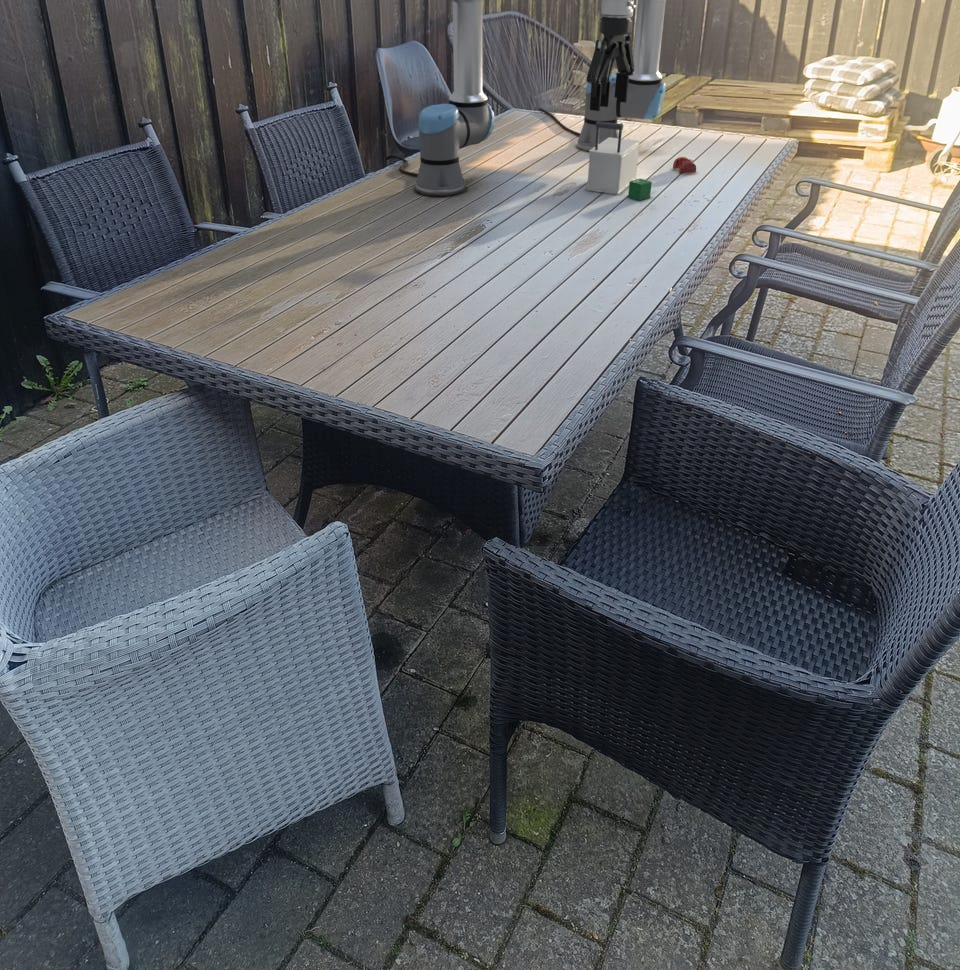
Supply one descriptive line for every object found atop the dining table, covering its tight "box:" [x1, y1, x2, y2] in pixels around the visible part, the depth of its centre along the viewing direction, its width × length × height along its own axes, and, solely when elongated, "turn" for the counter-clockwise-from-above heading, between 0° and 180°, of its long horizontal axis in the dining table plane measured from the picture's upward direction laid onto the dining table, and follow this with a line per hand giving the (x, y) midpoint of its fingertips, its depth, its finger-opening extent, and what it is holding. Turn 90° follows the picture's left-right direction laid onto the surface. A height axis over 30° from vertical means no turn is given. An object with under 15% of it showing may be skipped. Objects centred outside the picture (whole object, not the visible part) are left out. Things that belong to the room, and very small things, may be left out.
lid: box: [588, 121, 641, 158], centre depth 253 cm, size 18×10×9 cm, turn 154°
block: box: [627, 178, 653, 201], centre depth 251 cm, size 5×5×5 cm
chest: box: [586, 144, 640, 195], centre depth 259 cm, size 17×10×11 cm, turn 154°
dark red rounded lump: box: [672, 156, 697, 174], centre depth 274 cm, size 6×4×8 cm
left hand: (608, 106), depth 226 cm, fingers open, 13 cm apart
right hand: (611, 102), depth 242 cm, fingers open, 13 cm apart
